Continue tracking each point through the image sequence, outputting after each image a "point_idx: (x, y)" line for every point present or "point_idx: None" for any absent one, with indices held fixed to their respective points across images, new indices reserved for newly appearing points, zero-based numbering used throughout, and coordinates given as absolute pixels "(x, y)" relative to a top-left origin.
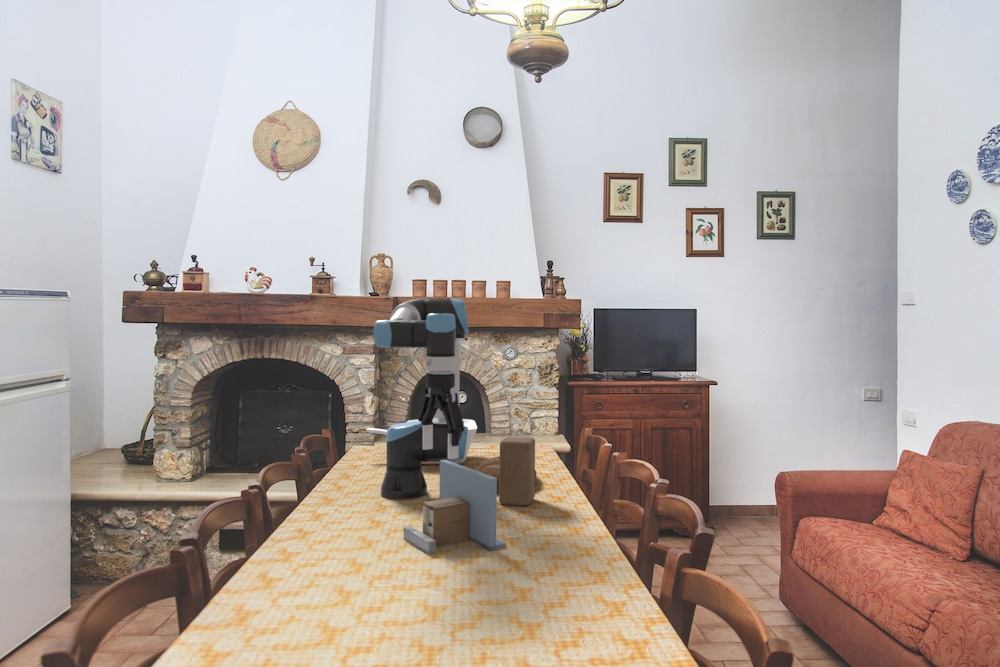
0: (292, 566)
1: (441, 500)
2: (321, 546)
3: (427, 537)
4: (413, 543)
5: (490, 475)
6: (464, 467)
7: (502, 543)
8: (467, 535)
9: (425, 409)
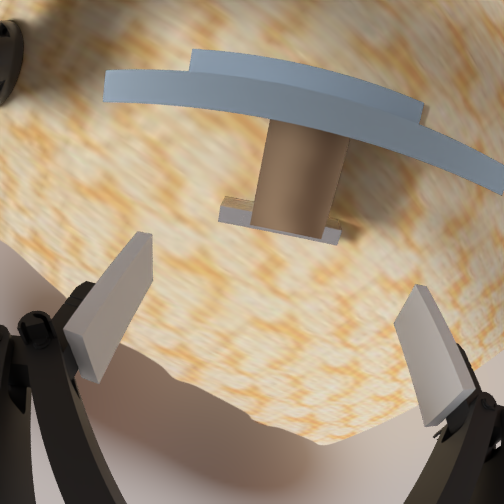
0: (226, 368)
1: (273, 175)
2: (175, 319)
3: None
4: None
5: None
6: (304, 101)
7: (420, 109)
8: None
9: (21, 455)
